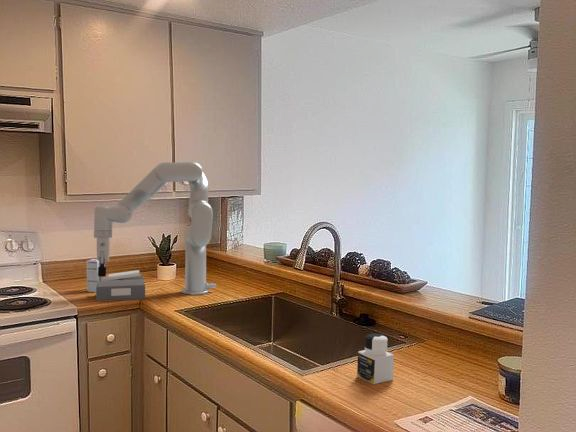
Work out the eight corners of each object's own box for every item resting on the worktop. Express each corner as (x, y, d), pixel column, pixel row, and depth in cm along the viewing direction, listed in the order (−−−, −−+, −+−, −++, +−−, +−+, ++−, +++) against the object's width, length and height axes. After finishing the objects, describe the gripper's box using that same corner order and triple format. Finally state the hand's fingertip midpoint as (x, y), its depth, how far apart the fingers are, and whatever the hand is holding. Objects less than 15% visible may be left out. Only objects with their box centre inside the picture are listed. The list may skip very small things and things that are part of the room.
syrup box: (98, 292, 247) (98, 260, 246) (86, 291, 248) (86, 260, 247) (104, 289, 252) (104, 258, 251) (93, 289, 253) (93, 258, 252)
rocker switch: (139, 273, 244) (139, 269, 244) (140, 275, 237) (139, 272, 237) (102, 278, 239) (101, 274, 239) (101, 281, 233) (101, 277, 233)
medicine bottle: (356, 376, 151) (357, 333, 150) (376, 371, 154) (377, 330, 153) (373, 385, 145) (375, 340, 144) (393, 380, 148) (395, 337, 147)
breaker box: (143, 292, 248) (143, 274, 247) (145, 298, 236) (145, 279, 236) (97, 294, 242) (97, 276, 241) (96, 301, 230) (96, 281, 230)
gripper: (112, 236, 229) (110, 279, 230) (112, 232, 243) (111, 273, 244) (93, 235, 227) (92, 279, 228) (94, 232, 241) (93, 273, 242)
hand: (101, 276), depth 236 cm, fingers closed
